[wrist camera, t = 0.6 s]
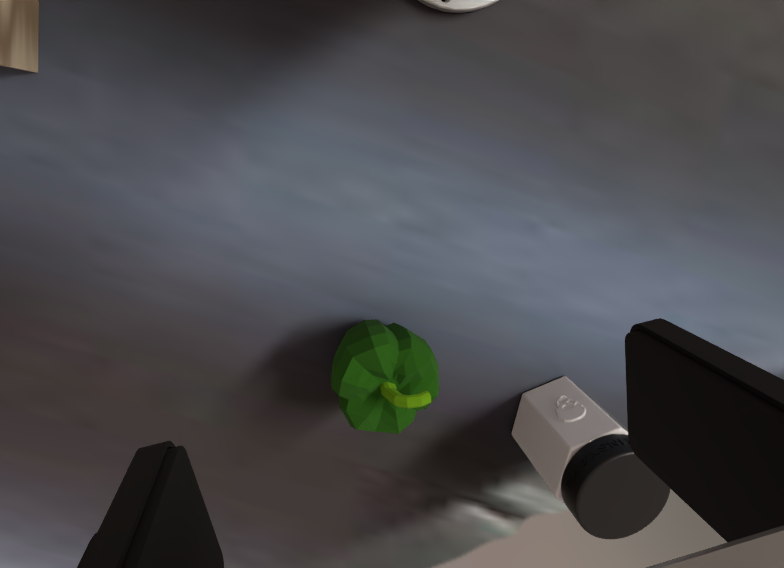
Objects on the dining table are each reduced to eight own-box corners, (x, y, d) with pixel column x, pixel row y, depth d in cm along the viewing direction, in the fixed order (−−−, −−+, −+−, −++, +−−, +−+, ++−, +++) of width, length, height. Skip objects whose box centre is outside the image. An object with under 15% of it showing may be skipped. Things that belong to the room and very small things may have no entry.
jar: (584, 364, 50) (668, 433, 39) (600, 431, 53) (683, 513, 42) (499, 399, 50) (561, 479, 38) (520, 465, 52) (583, 557, 41)
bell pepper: (316, 384, 46) (322, 451, 36) (338, 297, 44) (351, 344, 34) (406, 399, 48) (433, 465, 38) (430, 316, 46) (466, 365, 37)
